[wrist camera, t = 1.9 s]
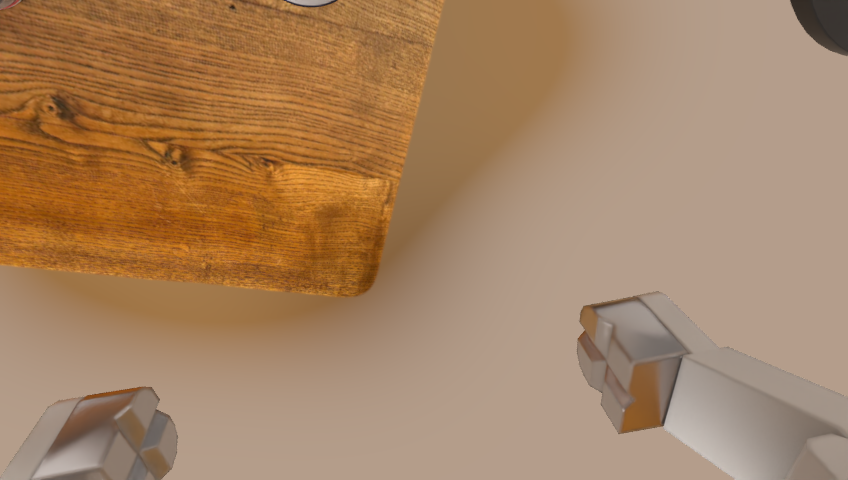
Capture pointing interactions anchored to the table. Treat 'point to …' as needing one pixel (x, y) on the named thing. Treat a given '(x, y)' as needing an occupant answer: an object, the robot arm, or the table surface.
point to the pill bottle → (8, 3)
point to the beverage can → (310, 2)
